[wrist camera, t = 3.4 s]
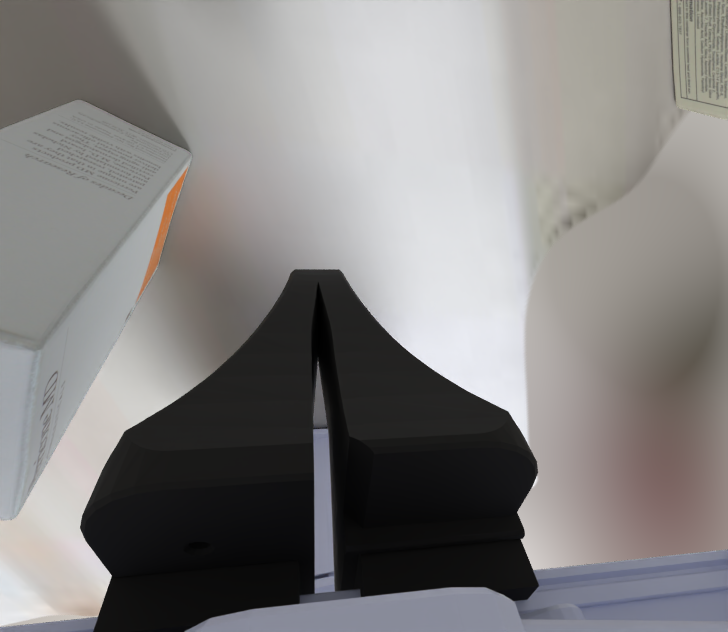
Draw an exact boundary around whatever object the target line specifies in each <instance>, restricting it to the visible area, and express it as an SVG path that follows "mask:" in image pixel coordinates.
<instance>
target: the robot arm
mask: <svg viewBox="0 0 728 632" xmlns="http://www.w3.org/2000/svg"><path fill="white" fill-rule="evenodd" d="M317 362H319V369H320V376H321V383H322V390H323V397H324V404H325V410H326V417H327V425H328V429H313V412H314V400H315V387H316V375H317ZM537 473H538V469H537V461H536V459H535V457H534V456H533V453H532V452H531V450H530V448H529V446H528V444H527V442H526V440H525V438H524V436H523V434H522V433H521V431H520V429H519V428H518V426H517V425H516V423H515V422H514V420H513V419H512V417H511V415H510V414H509V412H508V411H506V410H504V409H502V408H500V407H498V406H496V405H494V404H492V403H490V402H488V401H486V400H484V399H482V398H480V397H478V396H476V395H474V394H472V393H470V392H468V391H466V390H464V389H463V388H461V387H459V386H458V385H456V384H454V383H453V382H451V381H449V380H448V379H446V378H444V377H443V376H441V375H440V374H438V373H437V372H435V371H434V370H432V369H431V368H429V367H428V366H427V365H425V364H424V363H423V362H421V361H420V360H419V359H417V358H416V357H415V356H413V355H412V354H411V353H410V352H408V351H407V350H406V349H405V348H404V347H402V346H401V345H400V344H399V343H398V342H397V341H396V340H395V339H394V338H393V337H392V336H391V335H390V334H389V333H388V332H387V331H386V330H385V329H384V328H383V327H382V326H381V325H380V324H379V323H378V322H377V321H376V319H375V318H374V317H373V316H372V315H371V313H370V312H369V311H368V310H367V308H366V307H365V306H364V305H363V303H362V302H361V301H360V299H359V298H358V297H357V295H356V294H355V292H354V291H353V289H352V288H351V286H350V285H349V283H348V281H347V280H346V278H345V276H344V274H343V273H342V272H341V271H340V270H297V269H295V270H294V271H293V272H292V273H291V274H290V277H289V280H288V282H287V284H286V286H285V288H284V290H283V291H282V293H281V295H280V297H279V298H278V300H277V301H276V303H275V304H274V306H273V308H272V309H271V311H270V312H269V313H268V315H267V316H266V317H265V319H264V320H263V321H262V323H261V324H260V325H259V327H258V328H257V329H256V330H255V332H254V333H253V334H252V335H251V336H250V338H249V339H248V340H247V341H246V342H245V343H244V344H243V345H242V346H241V347H240V348H239V349H238V350H237V351H236V352H235V353H234V354H233V355H232V356H231V357H230V358H229V359H228V360H227V361H226V362H225V363H224V364H223V365H222V366H220V367H219V368H218V369H217V370H216V371H215V372H214V373H212V374H211V375H210V376H209V377H208V378H206V379H205V380H204V381H202V382H201V383H200V384H198V385H197V386H196V387H194V388H193V389H192V390H190V391H189V392H188V393H186V394H185V395H183V396H182V397H181V398H179V399H178V400H176V401H175V402H173V403H171V404H170V405H168V406H167V407H165V408H163V409H162V410H160V411H158V412H157V413H155V414H154V415H152V416H150V417H149V418H147V419H145V420H144V421H142V422H140V423H139V424H137V425H135V426H133V427H132V428H130V429H128V430H126V431H125V432H124V434H123V435H122V437H121V439H120V441H119V442H118V444H117V446H116V448H115V449H114V451H113V452H112V454H111V455H110V457H109V459H108V461H107V463H106V464H105V466H104V468H103V470H102V472H101V475H100V477H99V479H98V481H97V484H96V486H95V488H94V490H93V493H92V495H91V497H90V499H89V502H88V504H87V506H86V508H85V511H84V513H83V515H82V520H81V526H80V529H81V531H82V533H83V536H84V538H85V540H86V542H87V543H88V545H89V546H90V547H91V548H92V550H93V551H94V552H95V554H96V555H97V556H98V558H99V559H100V560H101V562H102V563H103V564H104V566H105V567H106V568H107V570H108V571H109V572H110V574H111V575H112V578H111V581H110V584H109V586H108V589H107V592H106V595H105V598H104V601H103V604H102V607H101V610H100V613H99V616H98V617H92V618H83V619H74V620H64V621H56V622H46V623H37V624H27V625H18V626H9V627H0V632H728V550H719V551H708V552H699V553H690V554H681V555H672V556H662V557H652V558H643V559H634V560H624V561H615V562H606V563H597V564H587V565H578V566H569V567H559V568H550V569H541V570H533V569H532V566H531V564H530V561H529V559H528V557H527V554H526V552H525V549H524V547H523V544H522V542H521V539H522V538H523V537H524V536H525V532H524V528H523V525H522V523H521V521H520V518H519V516H518V514H517V511H518V509H519V508H520V506H521V504H522V503H523V501H524V499H525V498H526V496H527V494H528V493H529V491H530V489H531V488H532V486H533V484H534V481H535V479H536V476H537Z"/></svg>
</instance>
